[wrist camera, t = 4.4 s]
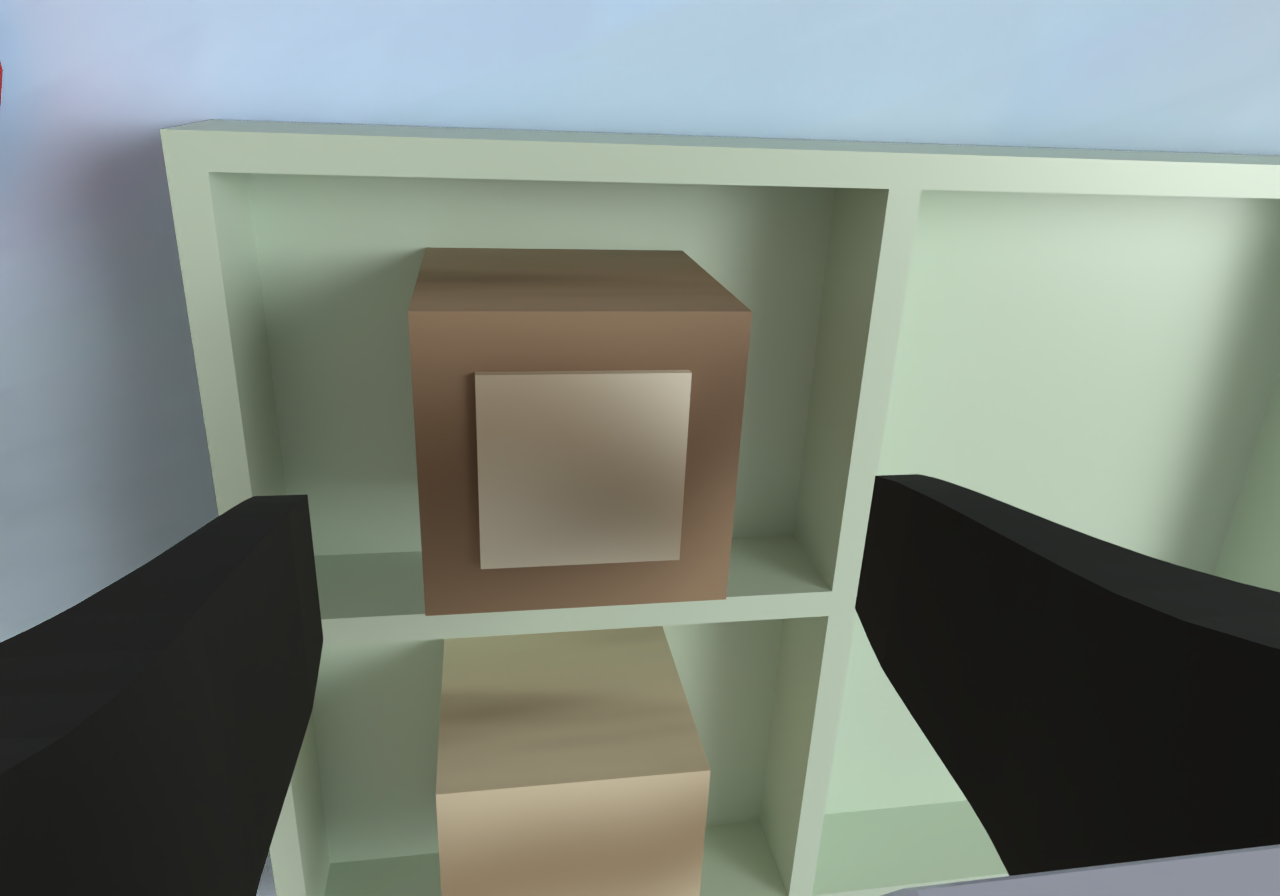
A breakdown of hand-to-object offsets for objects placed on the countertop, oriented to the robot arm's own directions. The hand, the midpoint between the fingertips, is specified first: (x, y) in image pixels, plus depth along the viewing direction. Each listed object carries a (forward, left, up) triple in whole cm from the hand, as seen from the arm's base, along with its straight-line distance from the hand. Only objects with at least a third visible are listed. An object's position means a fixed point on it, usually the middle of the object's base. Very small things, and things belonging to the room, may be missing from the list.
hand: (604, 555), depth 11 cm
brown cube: (0, 0, -8) cm, 8 cm away
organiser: (-4, -6, -8) cm, 11 cm away
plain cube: (-9, 0, -8) cm, 12 cm away
